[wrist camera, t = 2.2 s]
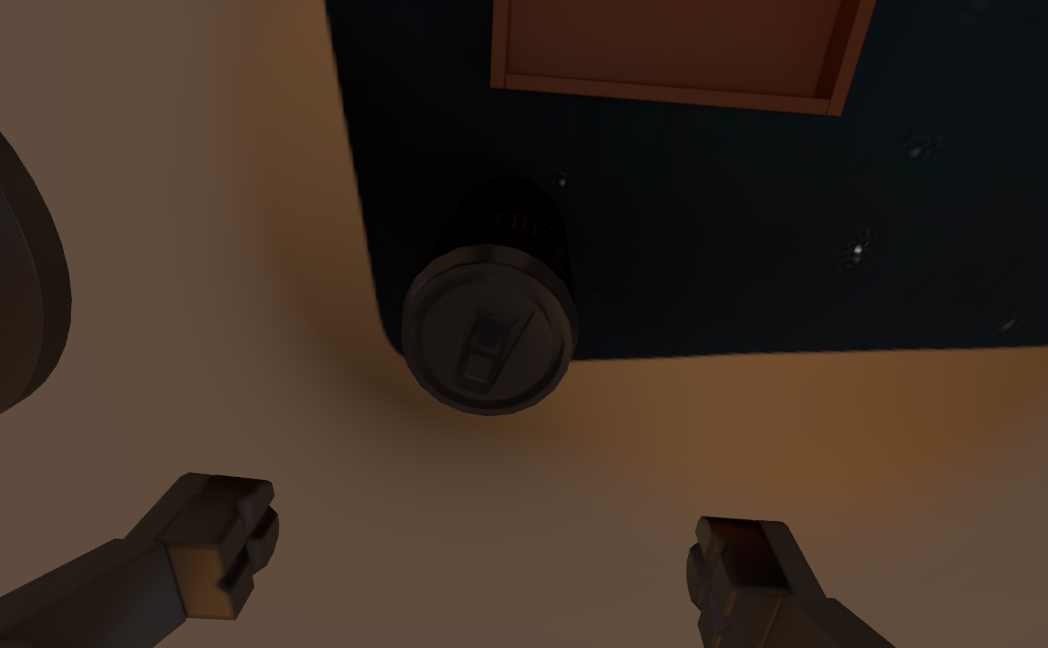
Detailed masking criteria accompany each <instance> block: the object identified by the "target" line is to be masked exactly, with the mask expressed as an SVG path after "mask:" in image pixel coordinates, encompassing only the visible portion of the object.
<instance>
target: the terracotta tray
mask: <svg viewBox="0 0 1048 648" xmlns="http://www.w3.org/2000/svg"><path fill="white" fill-rule="evenodd" d="M875 3H876V0H493V23H492V47H491V71H490V87H491V88H498V89H504V88H505V89H510V90H522V91H535V92H547V93H559V94H572V95H584V96H596V97H608V98H621V99H633V100H645V101H658V102H670V103H682V104H694V105H707V106H719V107H731V108H744V109H756V110H768V111H781V112H793V113H805V114H817V115H830V116H840V115H841V113H842V110H843V107H844V103H845V100H846V97H847V94H848V90H849V87H850V84H851V81H852V77H853V74H854V71H855V68H856V64H857V61H858V58H859V55H860V51H861V48H862V45H863V42H864V38H865V35H866V32H867V29H868V25H869V22H870V19H871V16H872V12H873V9H874V6H875Z"/></svg>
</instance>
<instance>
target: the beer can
mask: <svg viewBox="0 0 1048 648" xmlns="http://www.w3.org/2000/svg"><path fill="white" fill-rule="evenodd" d="M578 333H579V330H578V321H577V312H576V304H575V297H574V290H573V283H572V275H571V268H570V261H569V254H568V247H567V240H566V232H565V225H564V219H563V217H562V215H561V212H560V210H559V208H558V206H557V204H556V202H555V201H554V200H553V199H552V198H551V197H550V196H549V195H548V194H547V193H546V192H545V191H544V190H543V189H541V188H539V187H537V186H536V185H534V184H532V183H530V182H528V181H524V180H519V179H513V178H504V179H497V180H491V181H489V182H487V183H485V184H483V185H481V186H479V187H477V188H475V189H474V190H473V191H472V192H471V193H470V194H469V195H468V196H467V197H466V198H465V199H464V200H463V201H462V203H461V204H460V206H459V208H458V209H457V211H456V212H455V214H454V216H453V217H452V219H451V220H450V222H449V224H448V225H447V227H446V229H445V230H444V232H443V233H442V235H441V237H440V238H439V240H438V242H437V243H436V245H435V246H434V248H433V250H432V251H431V253H430V254H429V256H428V258H427V259H426V261H425V263H424V264H423V266H422V267H421V269H420V271H419V272H418V274H417V276H416V277H415V279H414V281H413V283H412V285H411V287H410V290H409V292H408V294H407V296H406V298H405V300H404V303H403V316H402V338H401V344H402V348H403V351H404V355H405V359H406V362H407V366H408V367H409V369H410V370H411V372H412V373H413V375H414V376H415V378H416V379H417V381H418V382H419V384H420V386H421V387H423V388H424V389H425V390H426V391H427V392H429V393H430V394H431V395H432V396H433V397H435V398H436V399H437V400H438V401H440V402H441V403H444V404H446V405H448V406H450V407H452V408H455V409H457V410H459V411H462V412H465V413H471V414H477V415H483V416H495V415H505V414H513V413H516V412H518V411H521V410H524V409H526V408H528V407H531V406H534V405H536V404H537V403H538V402H540V401H541V400H542V399H543V398H545V397H546V396H547V395H549V394H550V393H551V392H552V391H553V390H555V388H556V387H557V385H558V383H559V382H560V380H561V379H562V377H563V376H564V374H565V373H566V371H567V369H568V365H569V361H570V360H571V358H572V356H573V353H574V349H575V345H576V341H577V337H578Z"/></svg>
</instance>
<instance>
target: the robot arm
mask: <svg viewBox="0 0 1048 648" xmlns="http://www.w3.org/2000/svg"><path fill="white" fill-rule="evenodd" d="M274 497H275V495H274V491H273V486H272V483H271V482H269V481H267V480H260V479H251V478H242V477H232V476H223V475H209V474H200V473H190V472H189V473H187V474H185V475H183V476H181V477H180V478H179V479H178V480H177V481H176V482H175V483H174V484H173V485H172V486H171V487H170V489H169V490H168V491H167V492H166V493H165V494H164V495H163V496H162V497H161V499H160V500H159V501H158V502H157V503H156V504H155V505H154V506H153V507H152V508H151V510H150V511H149V512H148V513H147V514H146V515H145V516H144V517H143V518H142V519H141V520H140V522H139V523H138V524H137V525H136V526H135V527H134V528H133V529H132V530H131V531H130V533H129V534H128V535H127V536H126V537H125V538H124V539H113V540H111V541H109V542H107V543H105V544H103V545H101V546H99V547H98V548H96V549H94V550H92V551H90V552H88V553H86V554H84V555H82V556H80V557H78V558H76V559H74V560H72V561H70V562H68V563H66V564H64V565H62V566H60V567H59V568H56V569H55V570H52V571H51V572H49V573H47V574H45V575H43V576H41V577H39V578H37V579H35V580H33V581H31V582H29V583H27V584H25V585H23V586H21V587H19V588H17V589H15V590H14V591H12V592H10V593H8V594H6V595H4V596H2V597H0V648H153V647H154V646H155V645H156V644H157V643H159V642H160V641H161V640H163V639H164V638H165V637H166V636H168V635H169V634H170V633H171V632H173V631H174V630H175V629H176V628H178V627H179V626H180V625H181V624H183V623H184V622H185V621H186V618H200V619H202V618H203V619H219V620H236V618H237V617H238V615H239V613H240V611H241V609H242V608H243V606H244V604H245V603H246V601H247V599H248V597H249V595H250V593H251V592H252V590H253V588H254V582H253V578H252V575H253V574H255V573H256V572H258V571H259V570H261V569H262V568H264V567H265V566H266V565H267V564H268V562H269V560H270V558H271V556H272V554H273V552H274V549H275V545H276V542H277V539H278V534H279V519H278V514H277V513H276V512H275V511H274V510H273V509H272V508H271V507H270V506H269V504H270V503H271V501H272V499H273V498H274ZM695 533H696V536H697V539H698V543H696V544H695V545H694V546H693V547H691V548H690V551H689V555H688V559H687V575H686V577H687V584H688V590H689V594H690V598H691V601H692V602H693V603H694V604H695V605H696V606H697V607H698V609H699V610H701V615H700V618H699V621H698V627H699V630H700V634H701V637H702V641H703V644H704V648H895V647H894V646H893V645H892V644H890V642H888V641H887V640H886V639H885V638H883V637H882V636H880V635H879V634H878V633H877V632H876V631H875V630H873V629H872V628H871V627H870V626H868V625H867V624H866V623H865V622H863V621H862V620H861V619H860V618H858V617H857V616H856V615H855V614H854V613H852V612H851V611H850V610H849V609H847V608H846V607H845V606H843V605H842V604H841V603H840V602H839V601H837V600H836V599H834V598H826V596H825V594H824V592H823V590H822V588H821V587H820V585H819V583H818V581H817V579H816V577H815V576H814V574H813V572H812V570H811V568H810V567H809V565H808V563H807V561H806V559H805V557H804V555H803V554H802V552H801V550H800V548H799V546H798V544H797V543H796V541H795V539H794V537H793V535H792V533H791V532H790V530H789V528H788V526H787V525H785V524H784V523H783V522H778V521H763V520H755V521H754V520H748V519H733V518H721V517H720V518H719V517H707V516H702V517H701V518H700V520H699V521H698V523H697V526H696V530H695Z"/></svg>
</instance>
